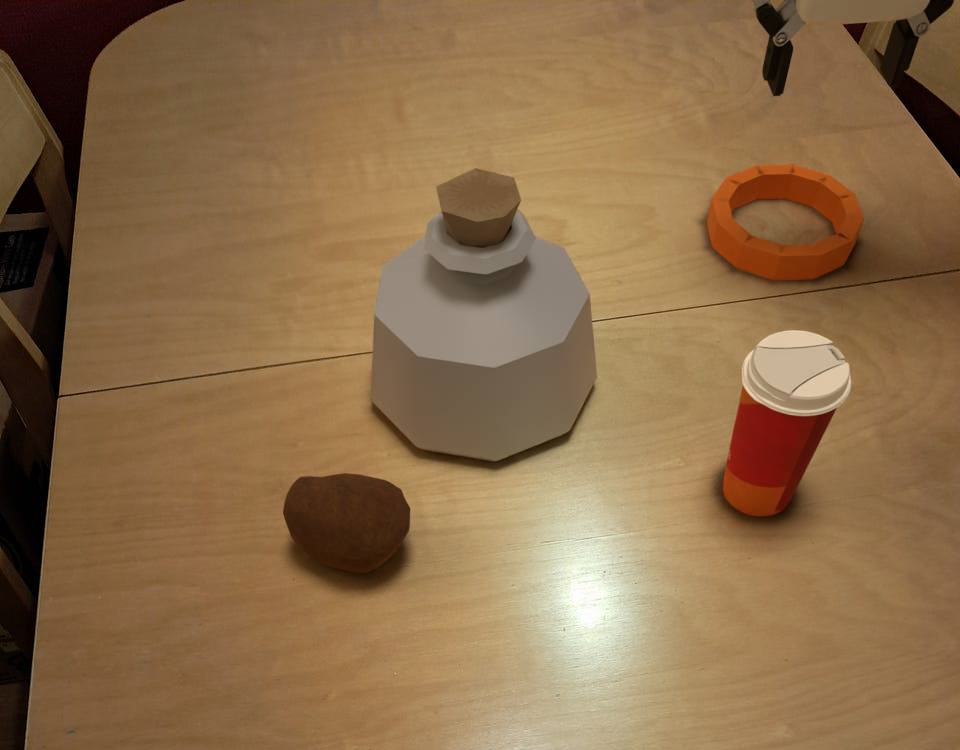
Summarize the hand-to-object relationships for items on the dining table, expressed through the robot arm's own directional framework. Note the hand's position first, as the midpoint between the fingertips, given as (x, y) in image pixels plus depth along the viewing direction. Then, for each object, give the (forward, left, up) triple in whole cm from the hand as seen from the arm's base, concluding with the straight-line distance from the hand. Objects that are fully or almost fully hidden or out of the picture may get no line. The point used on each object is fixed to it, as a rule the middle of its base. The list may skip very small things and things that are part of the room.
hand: (831, 83), depth 81 cm
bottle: (+29, +16, -17) cm, 38 cm away
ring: (-1, -4, -17) cm, 18 cm away
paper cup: (+7, +29, -17) cm, 35 cm away
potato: (+40, +34, -17) cm, 56 cm away
